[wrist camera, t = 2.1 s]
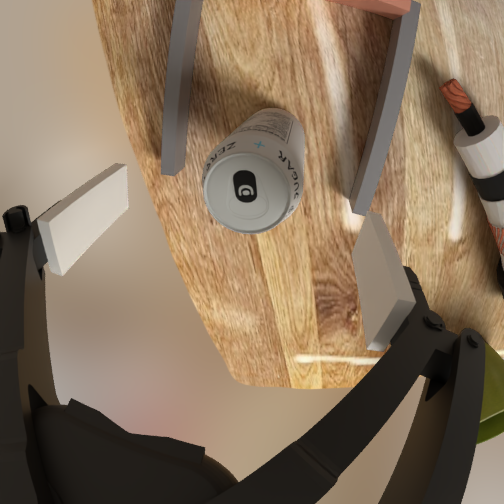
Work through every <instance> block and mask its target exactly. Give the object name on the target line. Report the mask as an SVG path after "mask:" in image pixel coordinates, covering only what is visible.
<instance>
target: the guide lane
mask: <svg viewBox="0 0 504 504" xmlns="http://www.w3.org/2000/svg"><path fill="white" fill-rule="evenodd" d="M326 1H331V2H335V3H339V4H343V5H347V6H351V7H354V8H358V9H361V10H365V11H368V12H371V13H375V14H378V15H381V16H384V17H387V18H389V19H392V20H393V25H392V31H391V36H390V42H389V47H388V52H387V57H386V62H385V67H384V71H383V76H382V80H381V85H380V89H379V93H378V98H377V102H376V106H375V110H374V114H373V118H372V122H371V126H370V129H369V133H368V137H367V141H366V144H365V148H364V152H363V155H362V159H361V162H360V166H359V169H358V172H357V176H356V179H355V182H354V186H353V189H352V192H351V195H350V199H349V202H350V206H351V209H352V213H355V214H359V215H363V216H366V214H367V211H369V208H370V205H371V202H372V199H373V197H374V194H375V191H376V188H377V185H378V182H379V179H380V176H381V172H382V169H383V166H384V163H385V160H386V156H387V153H388V150H389V146H390V143H391V140H392V136H393V133H394V129H395V125H396V122H397V118H398V114H399V110H400V106H401V102H402V98H403V94H404V90H405V86H406V82H407V77H408V73H409V68H410V63H411V58H412V53H413V48H414V43H415V37H416V32H417V26H418V19H419V13H420V6H421V4H420V3H418V2H416V1H413V0H326ZM202 4H203V0H176V4H175V10H174V16H173V23H172V30H171V37H170V45H169V54H168V63H167V73H166V83H165V96H164V110H163V127H162V151H161V174H163V175H170V176H175V175H176V174H177V173H178V172H179V171H181V170H182V169H183V168H184V167H185V155H186V140H187V127H188V115H189V104H190V94H191V84H192V75H193V67H194V59H195V51H196V43H197V36H198V29H199V23H200V16H201V10H202Z"/></svg>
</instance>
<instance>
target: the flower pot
mask: <svg viewBox="0 0 504 504" xmlns="http://www.w3.org/2000/svg"><path fill="white" fill-rule="evenodd" d="M485 347H486V350H485V378H484V391H483V402H482V410H481V418H480V425H479V431H478V437H477V442H476V444H479V443H482V442H485V441H487V440H489V439H492V438H494V437H496V436H498V435H499V434H501V433H503V432H504V360H503V359H502V358H501V356H500V355H499V354H498V353H497V352H496V351H495V350H494V349H493V348H492V347H491V346H490V345H488V344H487V343H486V342H485Z"/></svg>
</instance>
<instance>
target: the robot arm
mask: <svg viewBox="0 0 504 504" xmlns="http://www.w3.org/2000/svg"><path fill="white" fill-rule="evenodd" d="M128 208H129V205H128V184H127V165H126V164H118V163H115V164H114V165H112V166H111V167H109V168H108V169H106V170H104V171H103V172H101V173H100V174H98V175H97V176H95V177H94V178H92V179H91V180H89V181H88V182H87V183H85V184H84V185H82V186H81V187H79V188H78V189H76V190H75V191H74V192H72V193H71V194H69V195H68V196H67V197H65V198H64V199H63V200H60V201H58V202H57V203H56V204H54V205H53V206H52V208H51V207H50V208H49V209H48V210H47V211H46V212H44V213H43V214H41V215H40V216H39V217H38V218H36V219H35V220H34V221H33V222H31V221H30V217H29V212H28V208H27V207H26V206H24V205H20V206H15V207H12V208H10V209H9V210H7V211H6V212H5V213H4V214H3V216H2V217H3V220H4V224H5V228H6V231H7V232H0V504H315V503H316V502H317V501H319V500H320V499H321V498H322V497H323V496H324V495H325V494H326V493H327V492H328V491H329V490H330V489H331V488H332V487H333V486H334V485H335V483H336V482H337V480H338V477H339V476H340V474H341V473H342V472H343V471H344V470H345V469H346V468H347V467H348V466H349V465H350V464H351V463H352V461H354V459H355V458H356V457H357V456H358V455H359V454H360V452H362V451H363V449H364V448H365V447H366V446H367V445H368V444H369V442H370V441H371V440H372V439H373V437H374V436H375V435H376V434H377V433H378V432H379V430H380V429H381V428H382V427H383V425H384V424H385V423H386V422H387V420H388V419H389V418H390V416H391V415H392V414H393V412H394V411H395V410H396V408H397V407H398V406H399V404H400V402H401V401H402V400H403V399H404V397H405V396H406V394H407V393H408V391H409V390H410V388H411V387H412V386H413V384H414V382H415V381H416V380H417V378H418V376H419V375H422V376H424V377H426V380H425V384H424V387H423V391H422V395H421V398H420V401H419V404H418V408H417V411H416V414H415V417H414V420H413V423H412V426H411V429H410V432H409V434H408V437H407V440H406V443H405V445H404V448H403V450H402V453H401V455H400V458H399V460H398V462H397V465H396V467H395V469H394V472H393V474H392V476H391V478H390V481H389V483H388V485H387V487H386V489H385V491H384V493H383V495H382V497H381V499H380V501H379V503H378V504H461V502H462V499H463V495H464V492H465V489H466V485H467V481H468V478H469V474H470V470H471V465H472V461H473V457H474V453H475V448H476V442H477V437H478V431H479V425H480V418H481V410H482V402H483V391H484V378H485V350H486V347H485V342H484V340H483V338H482V336H481V335H480V334H479V333H478V332H476V331H475V330H473V329H470V328H465V329H464V330H462V332H461V333H460V334H459V335H457V334H454V333H452V332H450V331H448V330H446V327H445V323H444V321H443V320H442V318H441V317H440V316H439V315H438V314H436V313H435V312H433V311H431V310H430V309H429V306H428V304H427V301H426V298H425V296H424V293H423V291H422V288H421V285H419V281H418V278H417V276H416V274H415V273H414V272H413V271H412V269H411V268H410V267H406V266H403V265H402V263H401V260H400V258H399V255H398V253H397V250H396V248H395V245H394V243H393V241H392V238H391V236H390V234H389V231H388V229H387V227H386V224H385V222H384V220H383V218H382V216H381V214H378V213H375V212H371V211H367V214H366V217H365V219H364V222H363V225H362V228H361V230H360V233H359V236H358V238H357V241H356V244H355V246H354V249H353V252H352V259H353V264H354V269H355V275H356V280H357V286H358V292H359V298H360V304H361V311H362V318H363V325H364V332H365V340H366V348H367V349H368V350H375V351H383V352H384V350H385V349H386V347H387V346H388V345H389V343H391V347H390V348H389V350H388V351H387V352H386V353H385V354H384V355H383V357H382V358H381V359H380V360H379V361H378V362H377V363H376V364H375V366H374V367H373V368H372V369H371V370H370V371H369V372H368V373H367V374H366V375H365V376H364V378H363V379H362V380H361V381H360V382H359V383H358V384H357V385H356V386H355V387H354V388H353V389H352V390H351V391H350V392H349V393H348V394H347V395H346V396H345V397H344V398H343V399H342V400H341V401H340V402H339V403H338V404H337V405H336V406H335V407H334V408H333V409H332V410H331V411H330V412H329V413H328V414H327V415H326V416H324V417H323V418H322V419H321V420H320V421H319V422H318V423H317V424H316V425H314V426H313V427H312V428H311V429H310V430H309V431H308V432H307V433H305V434H304V435H303V436H302V437H301V438H299V439H298V440H297V441H295V442H293V443H292V444H290V445H289V446H288V447H286V448H285V449H284V450H282V451H281V452H280V453H278V454H277V455H276V456H275V457H273V458H272V459H271V460H270V461H268V462H267V463H265V464H264V465H263V466H261V467H260V468H259V469H257V470H256V471H254V472H253V473H252V474H250V475H249V476H247V477H246V478H244V480H242V481H240V482H238V481H237V479H236V478H235V477H234V476H233V474H231V472H230V471H229V470H228V469H226V468H225V467H224V466H223V465H221V464H220V463H219V462H217V461H216V460H214V459H213V458H210V457H209V456H207V455H205V447H201V446H197V445H194V444H190V443H186V442H183V441H179V440H176V439H173V438H169V437H159V436H149V435H140V434H132V433H128V432H127V431H125V430H124V429H122V428H121V427H120V426H118V425H117V424H115V423H114V422H113V421H111V420H110V419H109V418H107V417H106V416H105V415H103V414H102V413H101V412H100V411H97V410H95V409H93V408H91V407H89V406H87V405H84V404H82V403H80V402H78V401H76V400H74V399H72V398H71V400H70V401H69V404H68V405H60V403H59V400H58V398H57V395H56V391H55V386H54V380H53V374H52V367H51V360H50V352H49V343H48V333H47V320H46V300H45V271H44V268H43V266H44V264H46V263H47V262H48V264H49V267H50V271H51V272H52V273H55V274H58V275H61V276H63V275H64V274H65V273H66V272H67V271H68V269H69V268H70V267H71V266H72V265H73V264H74V263H75V262H76V261H77V259H78V258H79V257H80V256H81V255H82V254H83V253H84V252H85V251H86V250H87V249H88V248H89V247H90V246H91V245H92V244H93V243H94V242H95V241H96V240H97V239H98V238H99V237H100V235H101V234H103V233H104V232H105V230H107V229H108V228H109V227H110V226H111V225H112V224H113V223H114V222H115V221H116V220H117V219H118V218H119V217H120V216H121V215H122V214H123V213H124V212H125V211H126V210H127V209H128Z"/></svg>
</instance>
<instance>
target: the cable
mask: <svg viewBox="0 0 504 504" xmlns="http://www.w3.org/2000/svg"><path fill="white" fill-rule="evenodd" d="M439 89H440V90H441V91H442V93H443V95H444V97H445V98H446V99H447V101H448V102H449V104H450V106H451V107H452V108H453V110H454V112H455V115H456V117H457V118H458V120H459V121H460V123H461V125H462V126H463V129H462V130H461V131H460V132H458V133H457V135H456V136H455V138H454V141H453V143H454V145H455V147H456V148H457V150H458V152H459V154H460V155H461V157H462V159H463V161H464V163H465V165H466V167H467V168H468V170H469V175H470V177H471V179H472V181H473V183H474V185H475V187H476V189H477V191H478V195H479V198H480V200H481V202H482V204H483V207H484V209H485V211H486V214H487V215H486V216H487V221H488V223H489V226H490V228H491V230H492V233H493V235H494V238H495V240H496V244H497V246H498V249H499V252H500V255H501V258H500V261H499V264H498V267H497V279H498V283H499V286H500V289H501V292H502V295H503V299H504V127H503V125H502V123H501V121H500V120H499V118H498V117H496V116H485V117H480V115H479V113H478V112H477V110H476V108H475V106H474V105H473V103H471V102H470V100H469V99H468V97H467V95H466V94H465V93H464V92H463V89H462V87H461V86H460V84H459V83H458V82H457V80H456V79H454V78H453V79H451V80H450V81H447V82H445V83H444V84H443V85H442V86H441V87H439Z"/></svg>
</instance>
